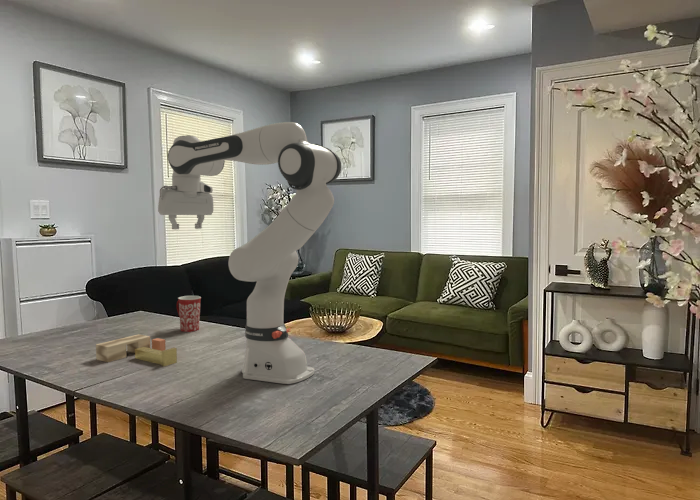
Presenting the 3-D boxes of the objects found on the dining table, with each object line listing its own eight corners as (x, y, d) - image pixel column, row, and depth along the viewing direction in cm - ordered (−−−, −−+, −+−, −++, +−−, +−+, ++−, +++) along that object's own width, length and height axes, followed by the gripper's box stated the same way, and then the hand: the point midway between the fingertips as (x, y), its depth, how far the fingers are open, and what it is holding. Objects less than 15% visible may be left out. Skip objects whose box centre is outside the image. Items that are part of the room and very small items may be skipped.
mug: (206, 329, 202) (205, 297, 201) (186, 333, 195) (186, 300, 194) (188, 325, 210) (188, 293, 209) (169, 328, 203) (168, 296, 202)
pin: (176, 362, 157) (176, 348, 157) (164, 366, 153) (164, 351, 152) (145, 355, 164) (145, 341, 164) (133, 359, 160) (132, 344, 160)
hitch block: (150, 350, 170) (150, 336, 170) (107, 362, 156) (107, 347, 156) (139, 348, 173) (138, 334, 173) (96, 359, 159) (95, 344, 159)
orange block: (165, 351, 169) (165, 339, 169) (159, 352, 167) (159, 341, 167) (157, 349, 171) (157, 338, 171) (152, 351, 169) (151, 339, 169)
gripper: (166, 184, 149) (167, 230, 150) (216, 188, 167) (216, 228, 168) (153, 185, 152) (154, 229, 153) (203, 188, 170) (203, 228, 171)
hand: (187, 229), depth 161 cm, fingers open, 8 cm apart
